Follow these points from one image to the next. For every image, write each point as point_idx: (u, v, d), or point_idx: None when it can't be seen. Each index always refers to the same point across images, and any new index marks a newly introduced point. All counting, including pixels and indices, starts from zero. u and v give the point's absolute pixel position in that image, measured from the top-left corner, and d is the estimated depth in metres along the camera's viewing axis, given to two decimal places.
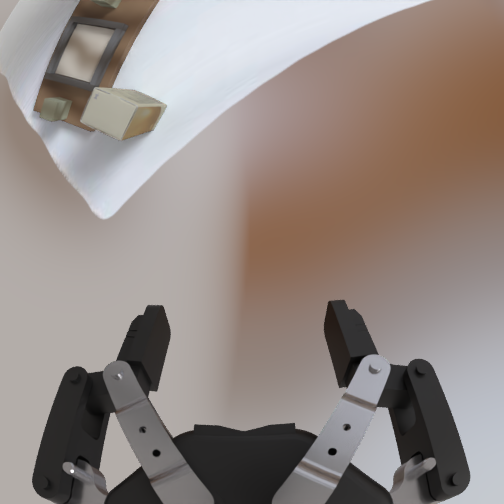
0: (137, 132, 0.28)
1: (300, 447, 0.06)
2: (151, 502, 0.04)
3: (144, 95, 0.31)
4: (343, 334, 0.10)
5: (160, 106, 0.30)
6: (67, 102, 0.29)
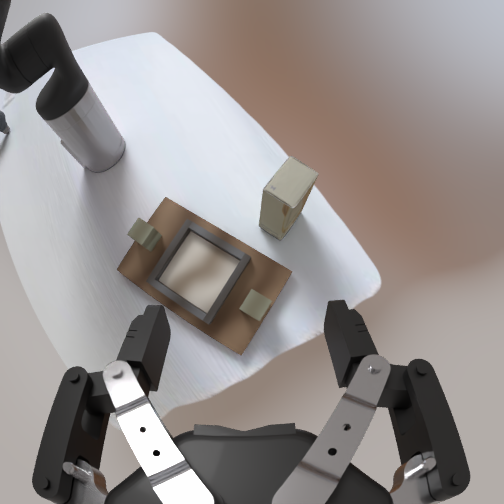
0: None
1: (300, 447, 0.06)
2: (151, 502, 0.04)
3: None
4: (343, 334, 0.10)
5: None
6: None
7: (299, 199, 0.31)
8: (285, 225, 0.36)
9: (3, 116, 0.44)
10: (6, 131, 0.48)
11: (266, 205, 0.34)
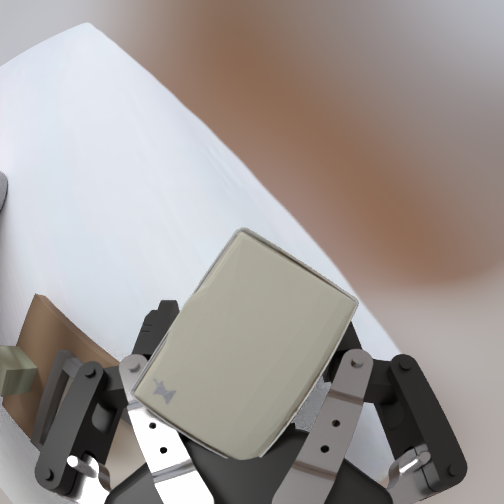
0: None
1: (300, 447, 0.06)
2: None
3: None
4: None
5: None
6: None
7: (275, 433, 0.06)
8: None
9: None
10: None
11: None
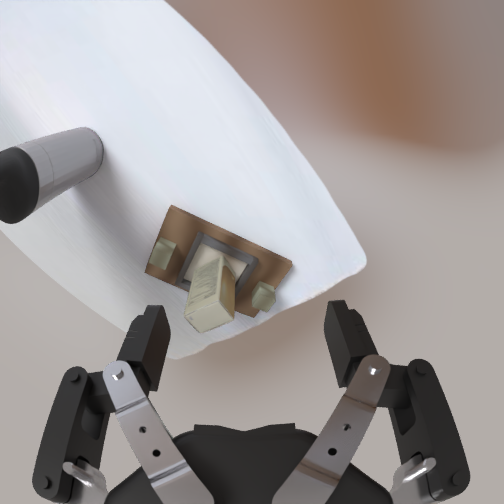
0: (233, 298, 0.41)
1: (300, 447, 0.06)
2: (151, 502, 0.04)
3: (205, 268, 0.46)
4: (343, 334, 0.10)
5: (222, 266, 0.43)
6: (260, 285, 0.48)
7: (207, 330, 0.39)
8: None
9: None
10: None
11: None
